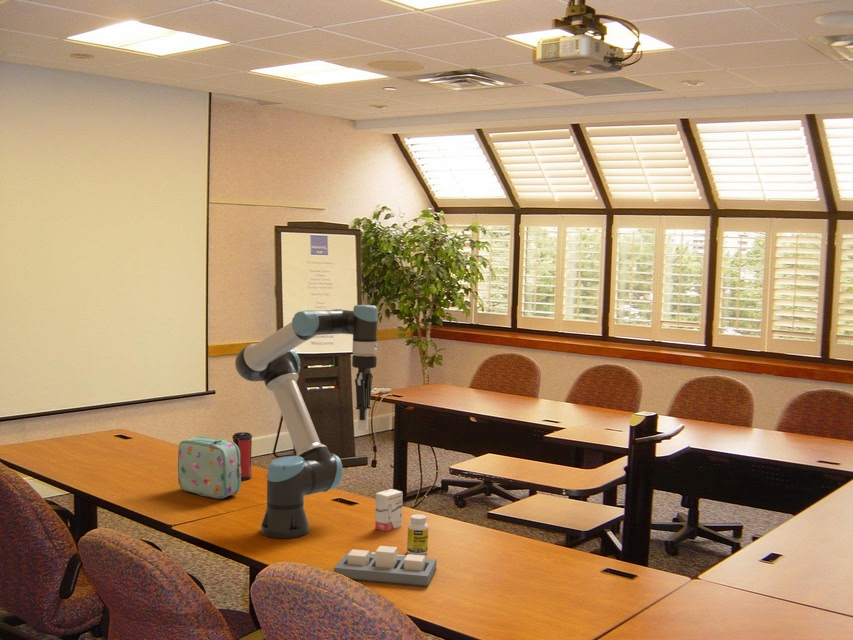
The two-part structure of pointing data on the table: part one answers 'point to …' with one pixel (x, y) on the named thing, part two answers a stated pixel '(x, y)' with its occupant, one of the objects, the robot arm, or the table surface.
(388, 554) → the button middle
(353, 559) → the button left
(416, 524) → the pill bottle
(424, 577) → the board
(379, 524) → the ink box
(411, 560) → the button right
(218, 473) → the lunch box
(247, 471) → the red travel mug
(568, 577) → the table surface
